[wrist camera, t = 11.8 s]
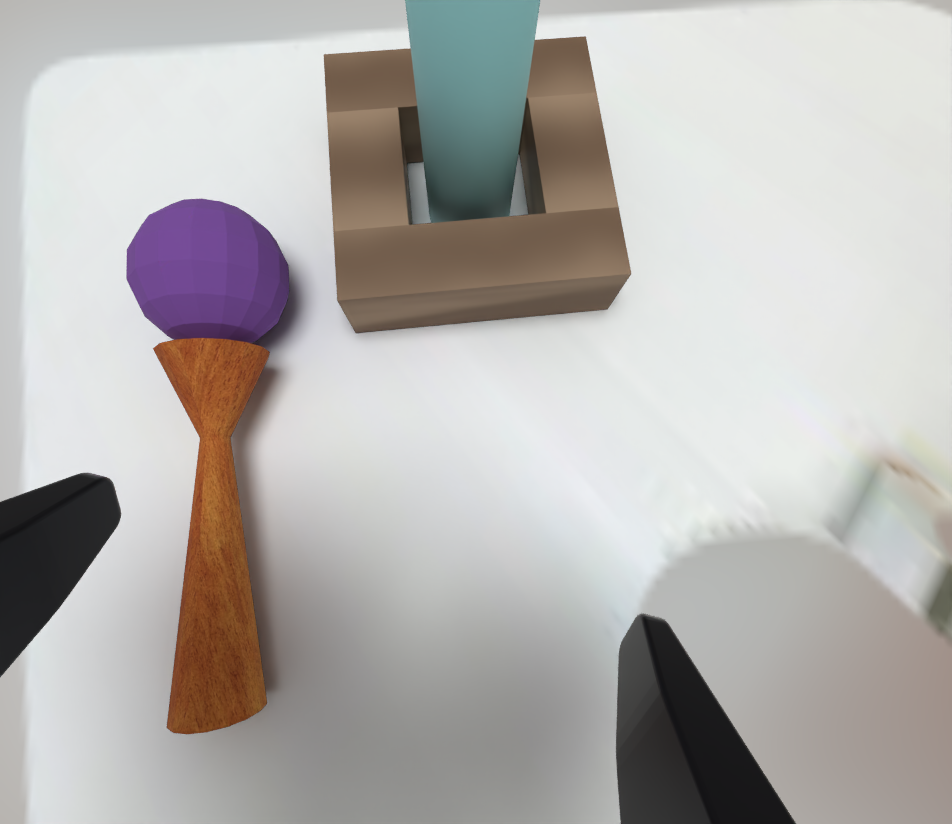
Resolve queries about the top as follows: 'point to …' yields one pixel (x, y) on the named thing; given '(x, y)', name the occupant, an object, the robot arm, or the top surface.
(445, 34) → the peg
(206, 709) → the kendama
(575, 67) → the socket
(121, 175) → the top surface
